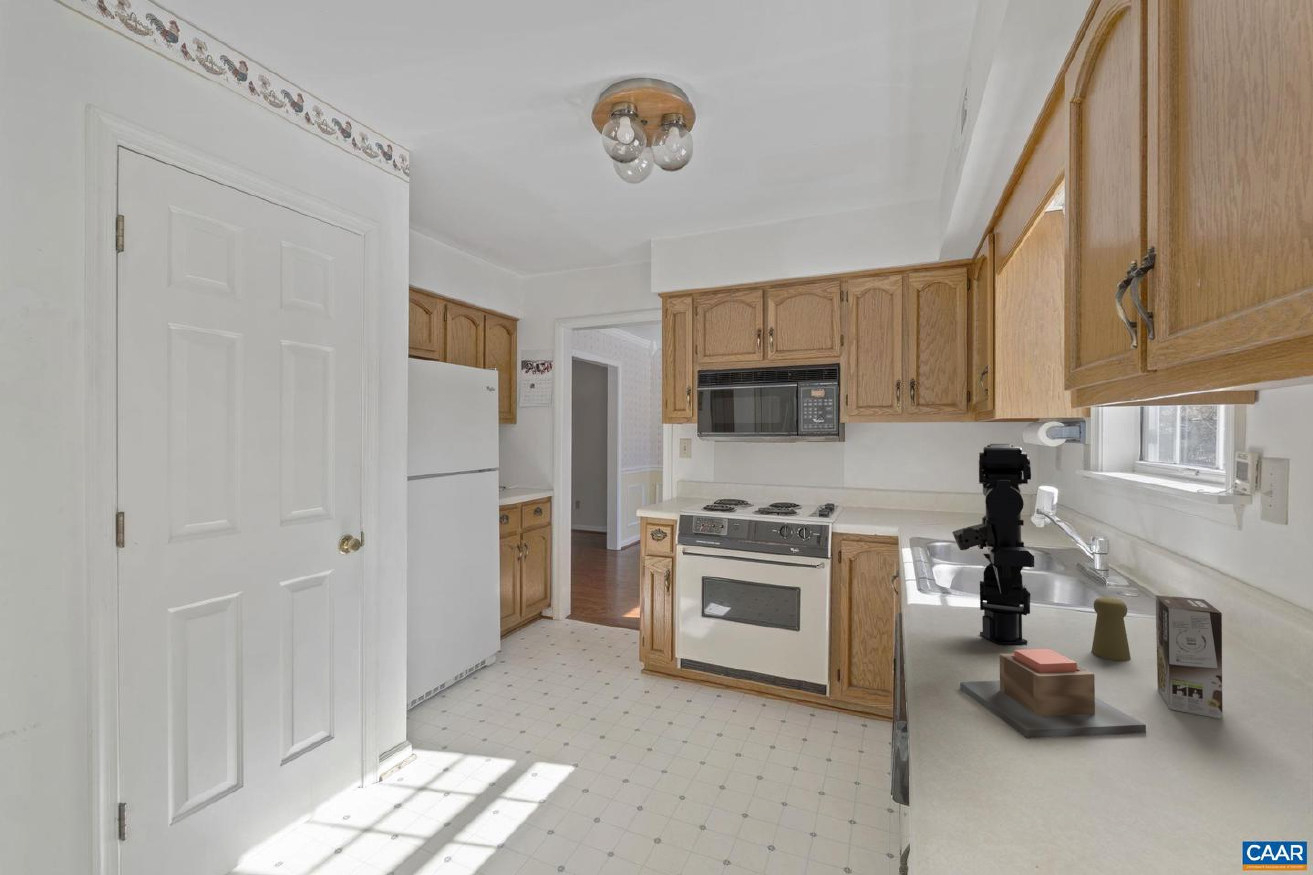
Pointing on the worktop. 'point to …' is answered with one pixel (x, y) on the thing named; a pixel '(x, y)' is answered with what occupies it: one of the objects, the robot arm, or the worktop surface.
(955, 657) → the worktop surface
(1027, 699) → the stand
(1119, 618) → the cork
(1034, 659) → the pink eraser block
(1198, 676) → the coffee box
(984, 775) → the worktop surface
